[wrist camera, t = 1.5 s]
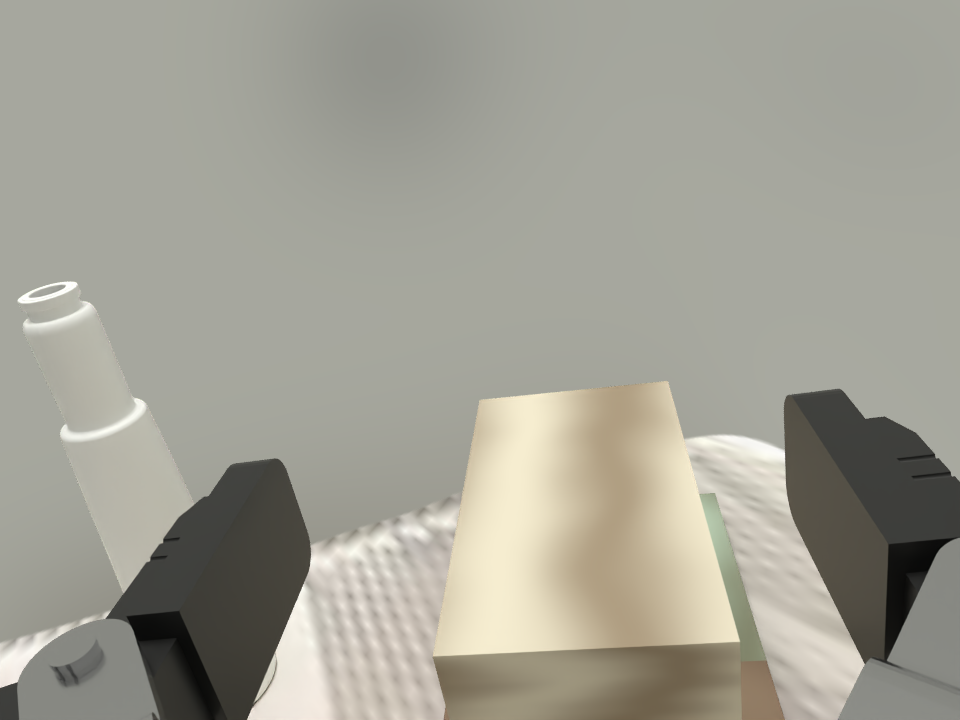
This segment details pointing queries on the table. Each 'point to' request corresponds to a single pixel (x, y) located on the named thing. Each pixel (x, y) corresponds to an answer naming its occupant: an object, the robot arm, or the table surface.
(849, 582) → the robot arm
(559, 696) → the maple block
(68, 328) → the cosmetic bottle
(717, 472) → the table surface
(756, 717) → the trap box
